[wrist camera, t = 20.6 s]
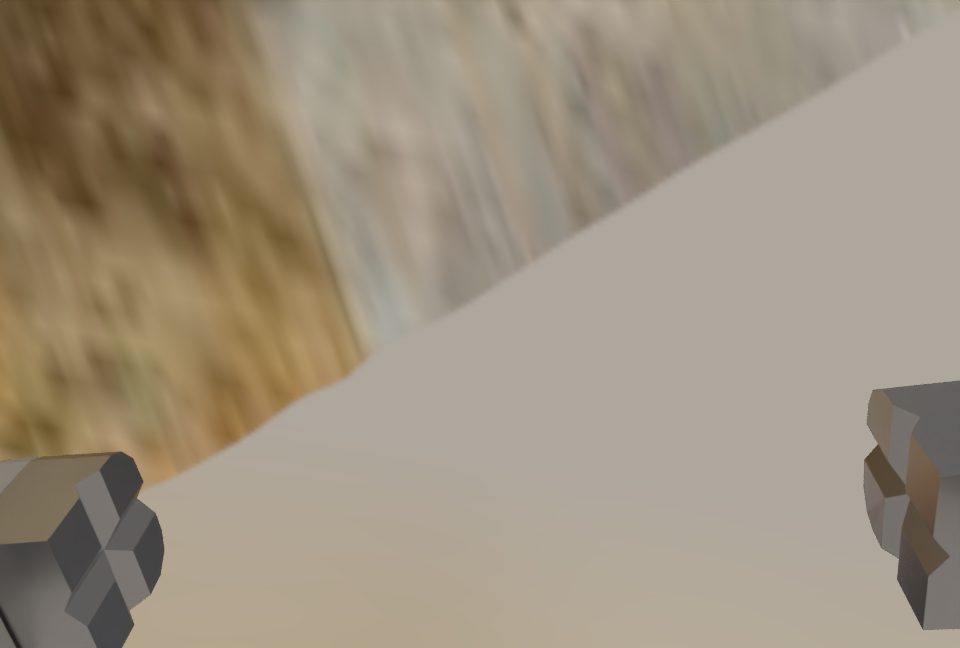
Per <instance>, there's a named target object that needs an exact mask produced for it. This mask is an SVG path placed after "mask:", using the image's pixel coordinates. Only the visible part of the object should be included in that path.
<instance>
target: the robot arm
mask: <svg viewBox="0 0 960 648" xmlns="http://www.w3.org/2000/svg"><path fill="white" fill-rule="evenodd" d="M867 425H868V427H869V429H870V431H871V432H872V434H873V436H874V437H875V439H876V441H877V443H878V445H877V446H876V447H875V448H874V449H873V451H872V452H871V453H870V454H869V455H868V456H867V457H866V458H865V460H864V493H865V500H866V508H867V513H868V516H869V519H870V523H871V526H872V529H873V532H874V533H875V536H876V538H877V540H878V542H879V544H880V546H881V548H882V549H884V550H885V551H887V552H889V553H890V554H892V555H894V556H895V557H897V558H898V559H899V564H898V576H897V580H898V582H899V584H900V586H901V588H902V590H903V592H904V594H905V595H906V598H907V600H908V602H909V604H910V606H911V607H912V609H913V612H914V613H915V615H916V617H917V619H918V621H919V623H920V625H921V627H922V629H923V630H935V629H960V381H952V382H943V383H933V384H924V385H914V386H905V387H895V388H887V389H876V390H873V391H872V394H871V397H870V401H869V404H868V416H867ZM142 484H143V480H142V477H141V475H140V473H139V471H138V468H137V466H136V464H135V461H134V459H133V458H132V457H130V456H128V455H126V454H125V453H123V452H107V453H91V454H75V455H59V456H43V457H40V458H39V457H27V458H17V459H7V460H1V461H0V648H122V647H123V645H124V643H125V641H126V639H127V637H128V636H129V634H130V632H131V630H132V628H133V626H134V623H133V619H132V617H131V614H130V610H131V609H132V608H133V607H135V606H136V605H137V604H138V603H140V602H141V601H143V600H144V599H145V598H147V597H148V596H149V595H150V594H151V593H152V591H153V589H154V587H155V585H156V583H157V581H158V579H159V577H160V575H161V569H162V562H163V556H164V544H163V536H162V530H161V527H160V524H159V521H158V518H157V516H156V513H155V512H153V511H152V510H151V509H150V508H148V507H147V506H146V505H145V504H143V503H142V502H141V501H140V500H138V499H137V496H138V494H139V491H140V489H141V487H142Z"/></svg>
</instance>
